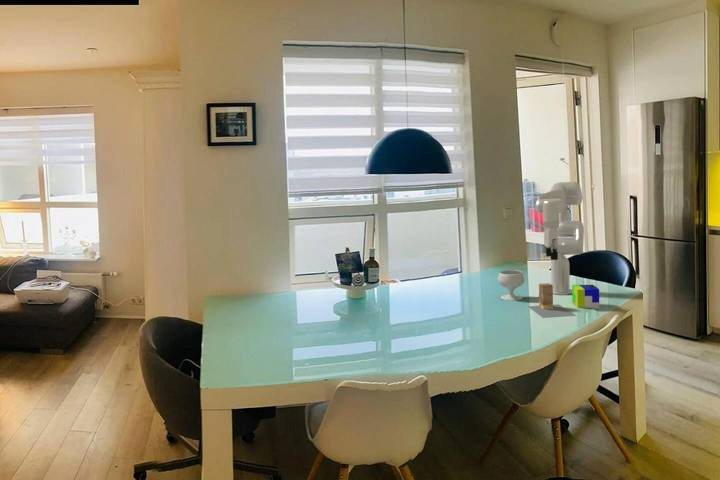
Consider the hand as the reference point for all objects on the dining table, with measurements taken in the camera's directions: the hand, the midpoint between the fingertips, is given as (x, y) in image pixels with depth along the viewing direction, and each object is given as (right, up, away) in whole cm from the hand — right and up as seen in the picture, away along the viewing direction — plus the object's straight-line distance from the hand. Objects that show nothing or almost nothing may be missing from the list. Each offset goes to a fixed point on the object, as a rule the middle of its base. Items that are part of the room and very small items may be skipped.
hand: (551, 258), depth 226 cm
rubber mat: (-3, -27, -5) cm, 27 cm away
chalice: (-13, -24, +24) cm, 36 cm away
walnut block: (-3, -25, 0) cm, 25 cm away
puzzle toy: (+17, -25, 0) cm, 30 cm away
